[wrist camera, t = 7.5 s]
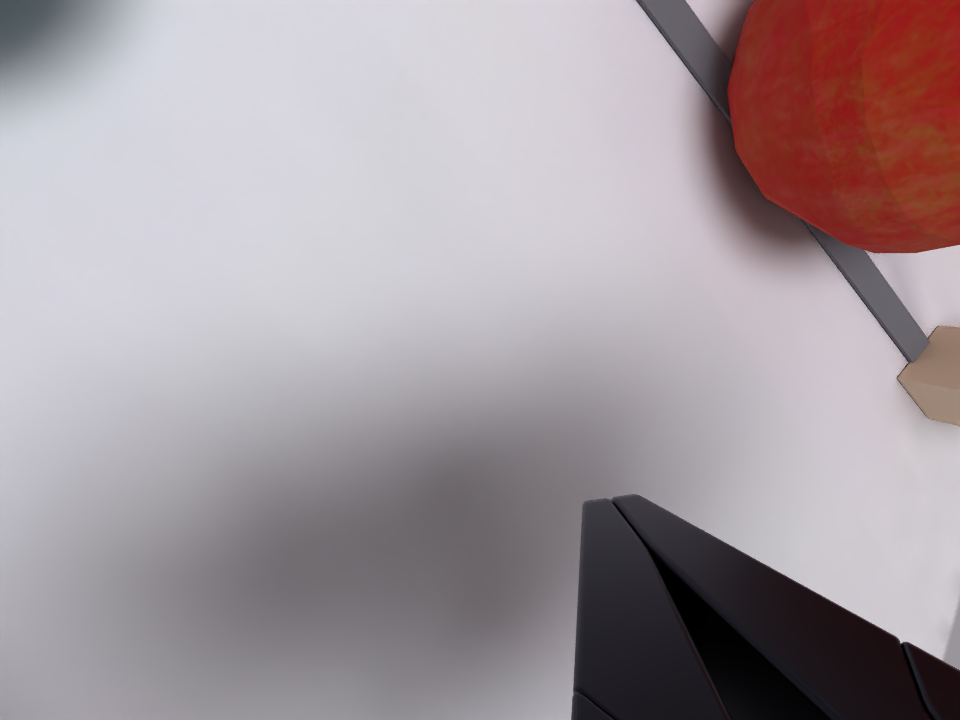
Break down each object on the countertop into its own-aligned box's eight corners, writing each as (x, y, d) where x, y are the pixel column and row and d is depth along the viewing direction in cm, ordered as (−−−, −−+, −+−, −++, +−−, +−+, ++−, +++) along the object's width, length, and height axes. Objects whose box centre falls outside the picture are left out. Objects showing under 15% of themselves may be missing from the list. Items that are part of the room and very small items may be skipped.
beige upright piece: (928, 418, 23) (1165, 477, 16) (485, -153, 14) (609, -511, 8) (967, 367, 23) (1218, 406, 17) (551, -229, 15) (729, -646, 8)
